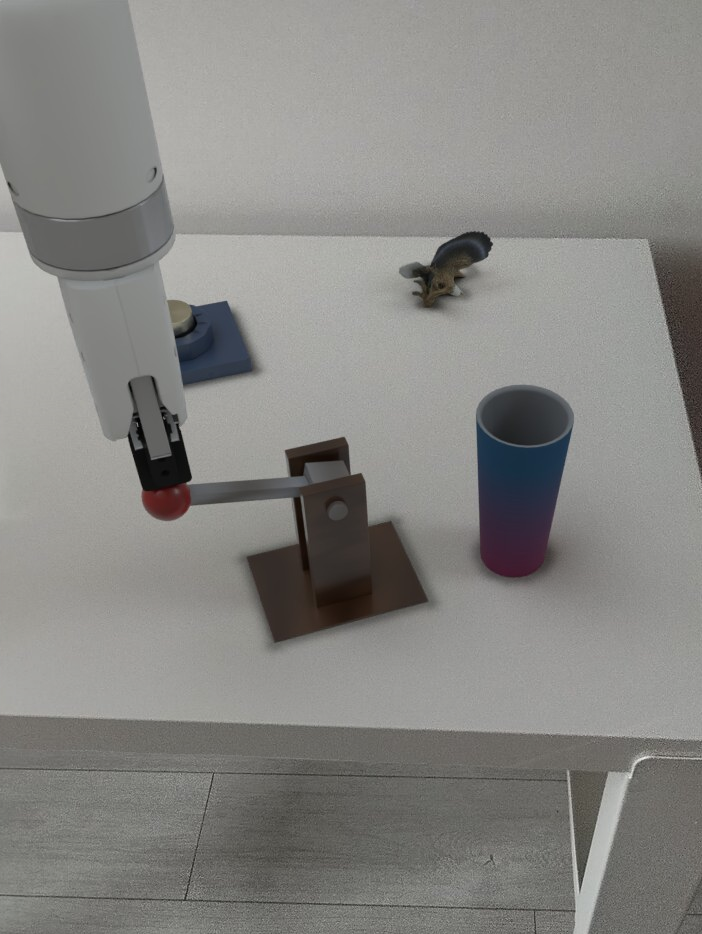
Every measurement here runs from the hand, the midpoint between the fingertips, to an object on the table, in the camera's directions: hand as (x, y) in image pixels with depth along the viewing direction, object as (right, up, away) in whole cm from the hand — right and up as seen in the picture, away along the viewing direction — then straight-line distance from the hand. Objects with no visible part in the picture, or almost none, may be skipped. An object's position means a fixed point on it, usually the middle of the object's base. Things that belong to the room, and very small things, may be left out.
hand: (166, 478), depth 68 cm
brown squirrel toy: (+18, +24, +40) cm, 50 cm away
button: (-7, +18, +30) cm, 35 cm away
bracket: (+10, -7, +14) cm, 18 cm away
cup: (+23, -5, +16) cm, 29 cm away
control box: (-7, +15, +32) cm, 37 cm away
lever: (+4, -1, +4) cm, 6 cm away
